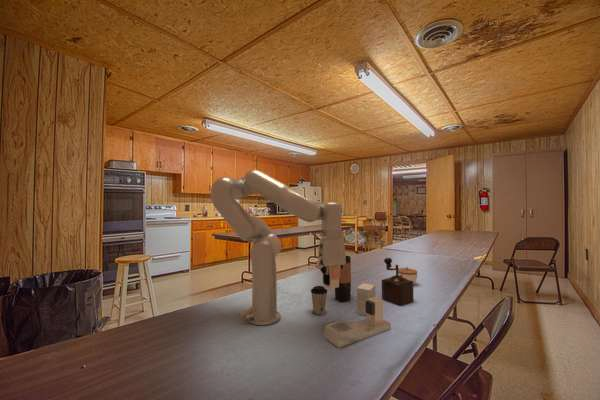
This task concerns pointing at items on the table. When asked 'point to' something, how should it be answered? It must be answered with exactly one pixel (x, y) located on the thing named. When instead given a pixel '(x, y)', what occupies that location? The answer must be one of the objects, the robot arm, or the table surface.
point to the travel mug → (344, 283)
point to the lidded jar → (408, 274)
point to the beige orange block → (333, 277)
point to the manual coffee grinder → (396, 287)
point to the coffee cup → (319, 299)
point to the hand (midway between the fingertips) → (331, 282)
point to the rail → (358, 326)
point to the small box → (364, 296)
